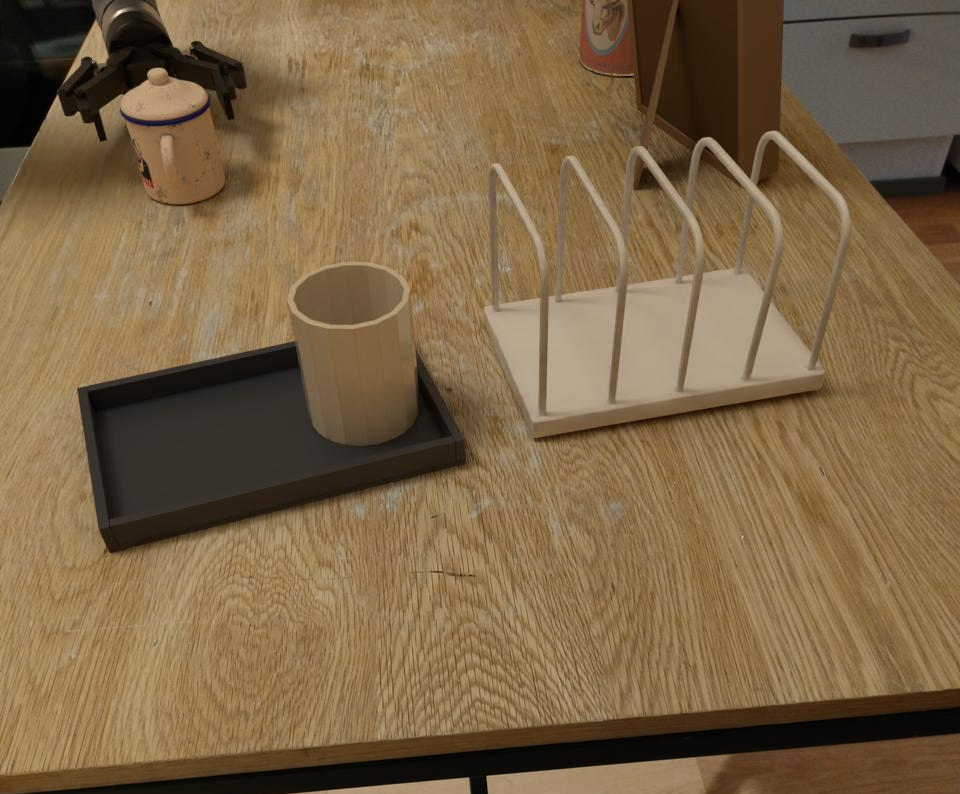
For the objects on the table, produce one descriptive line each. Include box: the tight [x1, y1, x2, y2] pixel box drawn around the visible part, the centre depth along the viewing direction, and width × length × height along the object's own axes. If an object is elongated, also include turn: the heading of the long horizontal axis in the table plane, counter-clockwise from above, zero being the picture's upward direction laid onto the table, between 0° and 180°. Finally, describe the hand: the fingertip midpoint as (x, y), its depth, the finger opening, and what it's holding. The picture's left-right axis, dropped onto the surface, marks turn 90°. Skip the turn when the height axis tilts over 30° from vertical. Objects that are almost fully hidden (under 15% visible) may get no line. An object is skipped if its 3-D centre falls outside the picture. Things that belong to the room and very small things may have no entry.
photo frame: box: [627, 0, 785, 189], centre depth 98 cm, size 15×22×25 cm
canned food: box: [578, 0, 634, 74], centre depth 120 cm, size 11×11×12 cm
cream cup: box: [286, 261, 420, 446], centre depth 75 cm, size 9×9×11 cm
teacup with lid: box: [119, 68, 226, 205], centre depth 100 cm, size 12×9×12 cm
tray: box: [76, 340, 467, 553], centre depth 77 cm, size 28×18×2 cm, turn 110°
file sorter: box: [482, 131, 852, 439], centre depth 78 cm, size 25×17×16 cm
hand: (165, 117), depth 102 cm, fingers open, 13 cm apart
